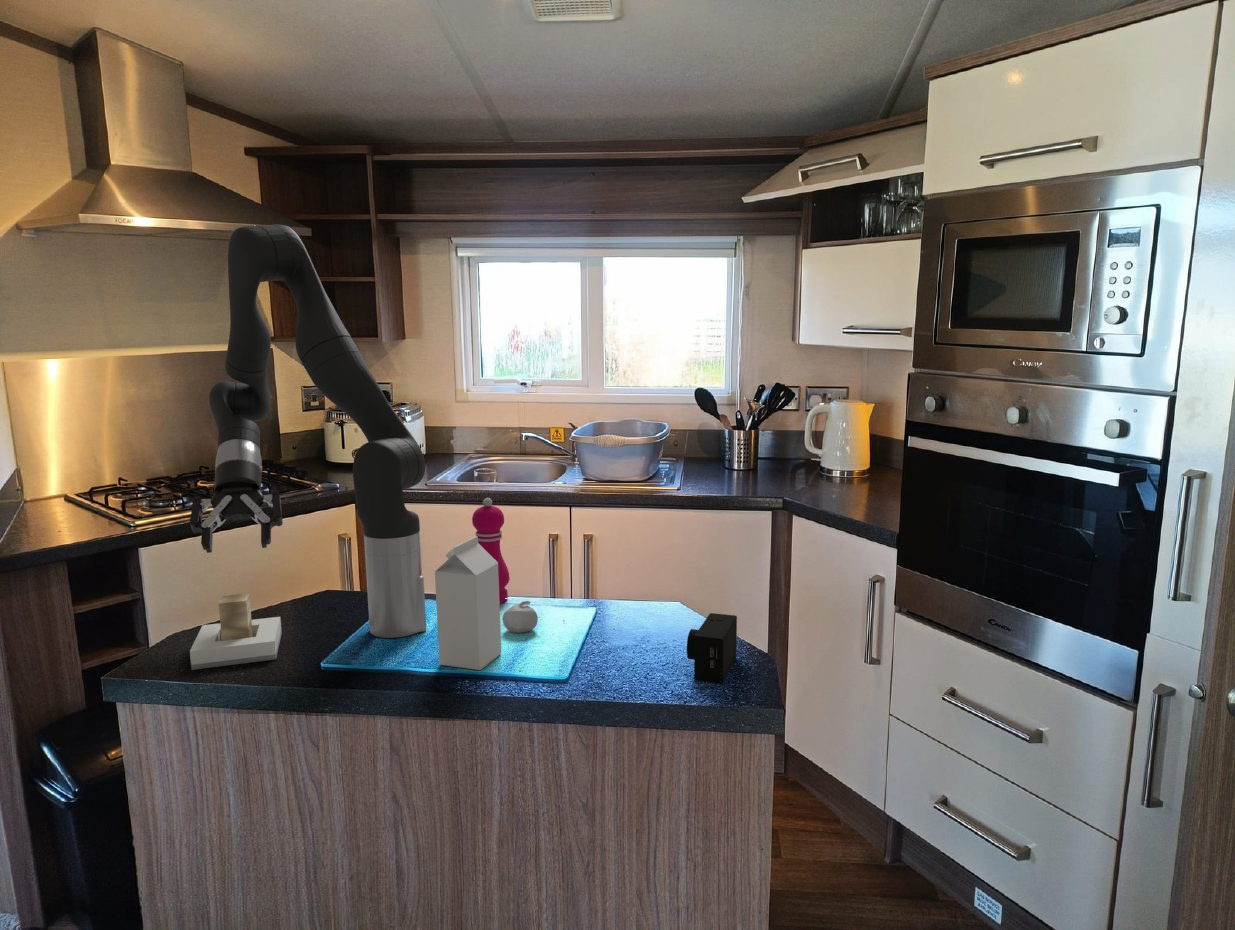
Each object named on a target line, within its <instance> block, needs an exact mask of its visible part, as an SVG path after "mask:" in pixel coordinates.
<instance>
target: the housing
mask: <svg viewBox="0 0 1235 930" xmlns="http://www.w3.org/2000/svg"><path fill="white" fill-rule="evenodd" d="M251 620H252V631H253V637H251V638H242V639H234V640H225V641H222V635H221V624H220V622H219V623H213V624H211V623H210V624H202V625H201V628H200V630H199V632H198V634H197V636H196V638H195V640H194V641H193V643H192V646H191V648H190V650H189V657H190V658H189V659H190V667H191V671H195V670H200V669H210V668H217V667H225V666H232V665H239V664H241V665H242V664H248V663H257V662H265V661H273V660H277V657H278V651H279V647H280V642H281V638H282V635H283V634H282V620H281V616H274V617H273V616H272V617H266V618H256V619H251Z"/></svg>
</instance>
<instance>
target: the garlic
mask: <svg viewBox="0 0 1235 930" xmlns="http://www.w3.org/2000/svg"><path fill="white" fill-rule="evenodd" d="M530 604H531V601H530V600H523V601H521V602H520V603H519V604H514V605H512V606H511V607H508V609H507V610H505V611H504V612H503V615H502V623H503V626H504V628H505V629H507V630H508V631H509V632H511V633H516V634H517V633H519V634H520V633H521V634H522V633H523V634H524V633H528V632H531V631H533V629H535V628H536V627H537V626H538V620H539V619H538V613H537V612H536V610H535V609H534V608H533V607H531V606H530Z"/></svg>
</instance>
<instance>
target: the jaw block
mask: <svg viewBox="0 0 1235 930" xmlns="http://www.w3.org/2000/svg"><path fill="white" fill-rule="evenodd" d="M218 611H219V612H218V613H219V621H220V622H219V623H220V624H221V635H222V641H225V640H234V639H242V638H251V637H253V631H252V620H253V619H252V609H251V599H250V592H249V593H240V594H231V595H229V594H228V595H222V596H221V598H220V600H219V602H218Z"/></svg>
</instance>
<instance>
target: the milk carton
mask: <svg viewBox="0 0 1235 930" xmlns="http://www.w3.org/2000/svg"><path fill="white" fill-rule="evenodd" d="M445 556H446V558H447V560H446V561H445V562H444V563H442V564H441V565H440V566H439V567H438V568H437V569H436V570H435V571H434V580H435V581H434V582H435V604H436V621H437V622H436V624H437V642H438V646H437V647H438V663H439V665H440V666H446V667H447V666H448V667H454V668H461V669H468V670H469V669H470V670H476V671H481V670H482V669H483V668H485V667H486V666H488V665H489V664H490V663H491V662H492V661H494V660H495V659H496V658H498V657H499V656H500V655H501V654H502V637H501V636H502V634H501V633H502V632H501V609H500V607H501V606H500V605H501V604H500V602H499V576H498V562H497V561H496V560H495V559H494V558H493V557H492V556H491V555H490V554H489V553H488V552H487V551H486V550H485V549H484V548H483V547H482V546H481V545H480V544H479V543H478V536H476V535H475V536H474V537H472V538H470V539H468V540H465V541H464V542H461V543H459V544H458V545H455V546H453V548H452V549H451V550H449V551H448V552H447V553H446V554H445Z"/></svg>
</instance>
